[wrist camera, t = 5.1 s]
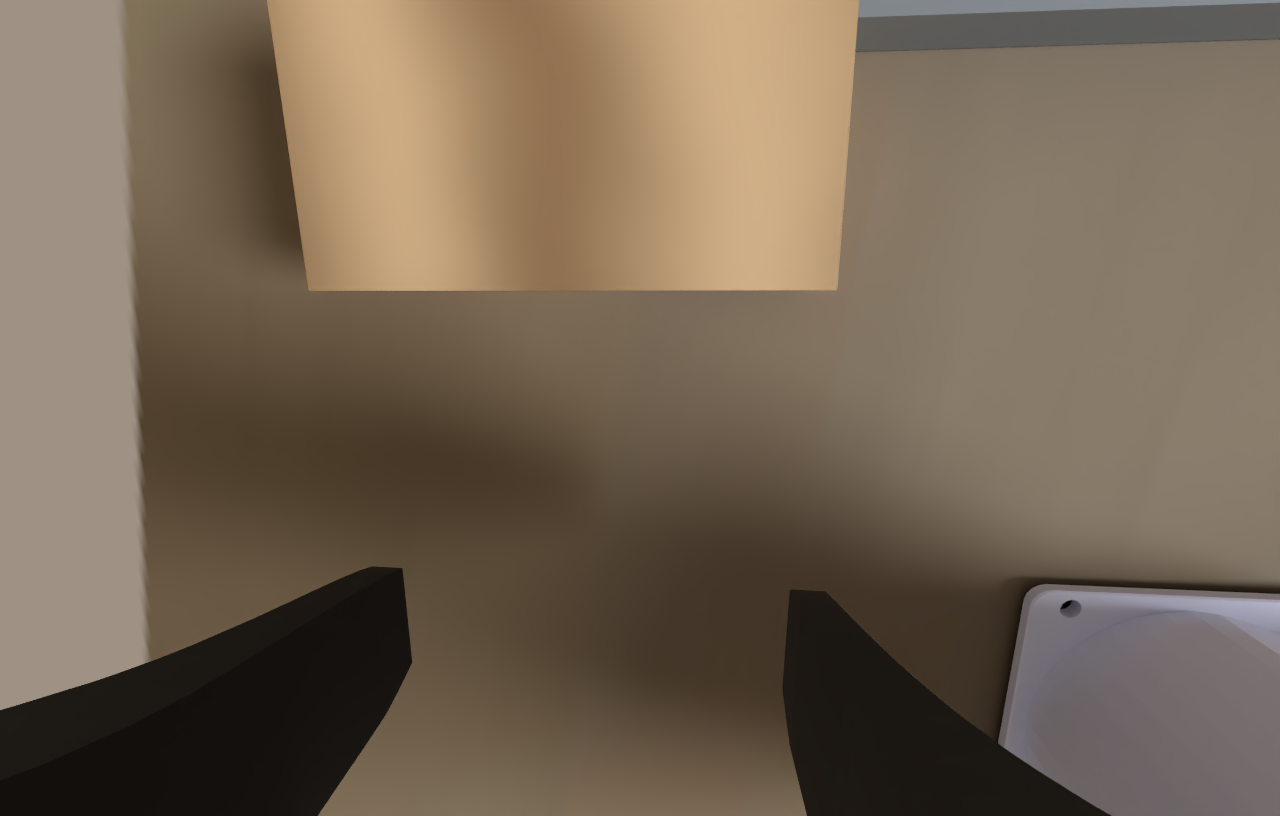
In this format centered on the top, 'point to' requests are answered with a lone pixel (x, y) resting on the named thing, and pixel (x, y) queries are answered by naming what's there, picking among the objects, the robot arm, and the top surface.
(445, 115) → the oak bar
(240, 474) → the top surface
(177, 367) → the top surface
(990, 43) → the slate board
